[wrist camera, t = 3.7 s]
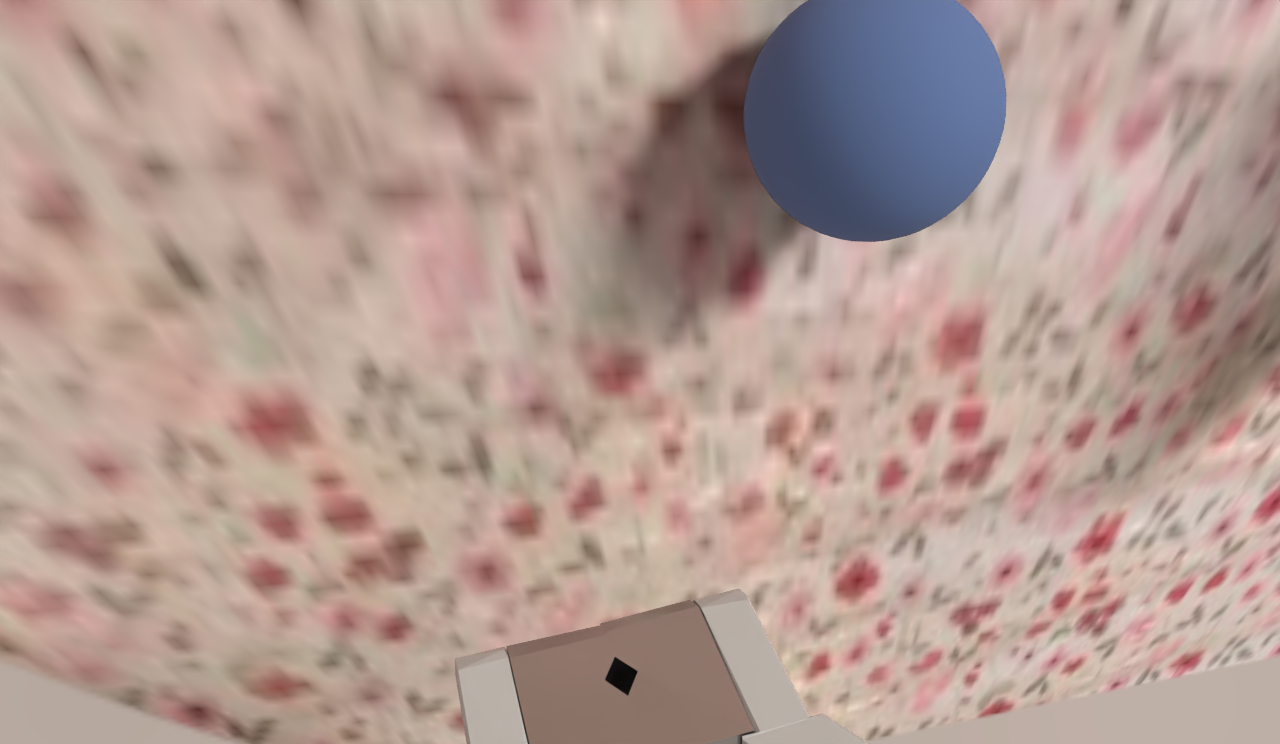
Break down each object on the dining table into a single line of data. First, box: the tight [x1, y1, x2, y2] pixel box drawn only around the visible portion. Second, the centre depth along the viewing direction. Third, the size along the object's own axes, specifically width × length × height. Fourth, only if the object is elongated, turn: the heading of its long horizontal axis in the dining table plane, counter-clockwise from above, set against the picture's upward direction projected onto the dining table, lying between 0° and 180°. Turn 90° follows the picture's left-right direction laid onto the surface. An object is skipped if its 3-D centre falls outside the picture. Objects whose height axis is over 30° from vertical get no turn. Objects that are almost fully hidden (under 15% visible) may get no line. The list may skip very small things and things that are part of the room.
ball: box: [744, 0, 1006, 242], centre depth 21 cm, size 6×6×6 cm
